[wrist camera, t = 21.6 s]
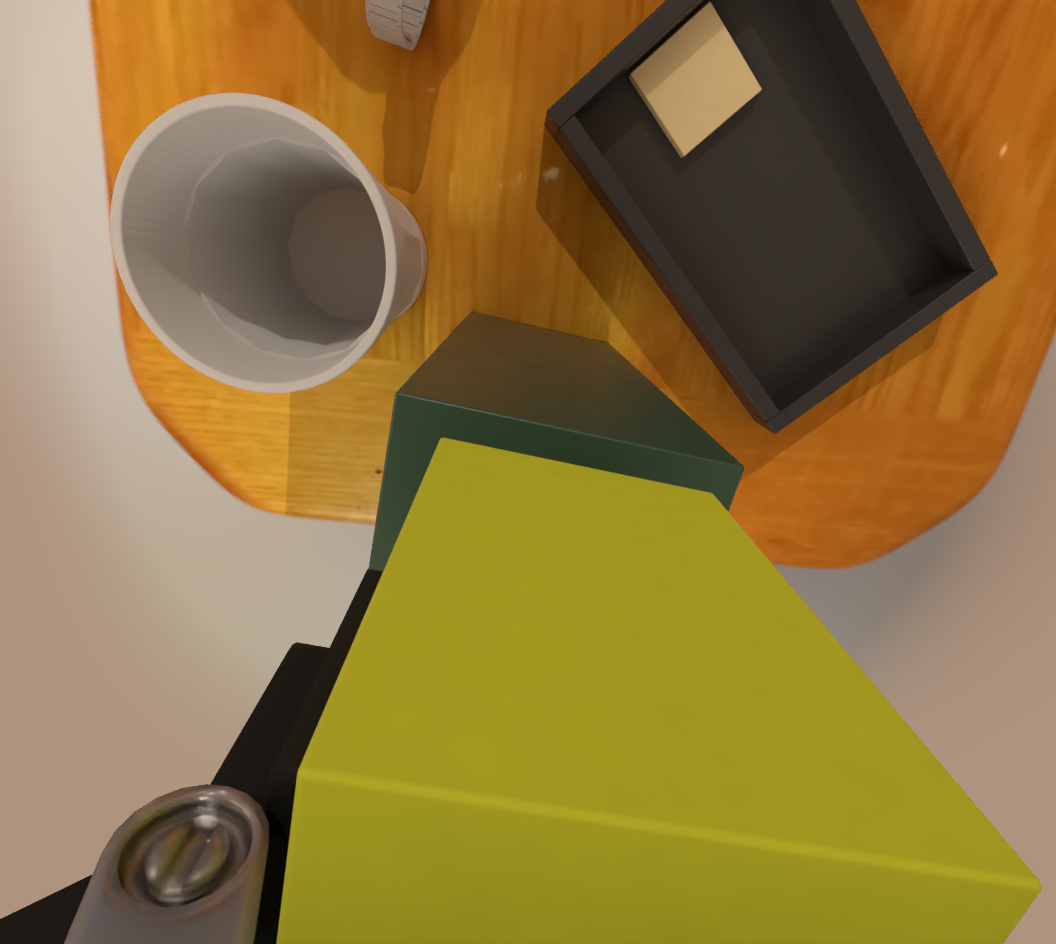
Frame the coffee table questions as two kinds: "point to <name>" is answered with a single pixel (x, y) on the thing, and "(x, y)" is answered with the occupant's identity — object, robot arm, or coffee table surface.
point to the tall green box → (540, 416)
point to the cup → (260, 243)
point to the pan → (781, 201)
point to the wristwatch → (397, 20)
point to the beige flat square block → (695, 80)
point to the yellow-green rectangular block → (617, 742)
